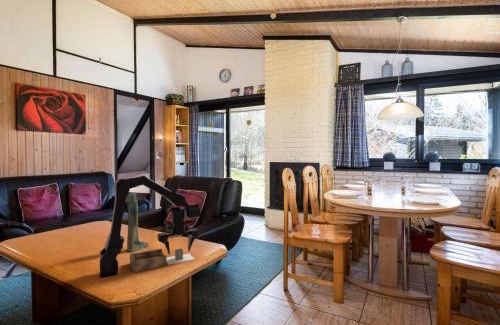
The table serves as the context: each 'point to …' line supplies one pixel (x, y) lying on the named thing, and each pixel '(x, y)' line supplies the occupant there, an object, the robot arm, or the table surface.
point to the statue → (133, 225)
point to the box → (147, 260)
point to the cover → (179, 257)
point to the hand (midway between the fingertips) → (179, 252)
